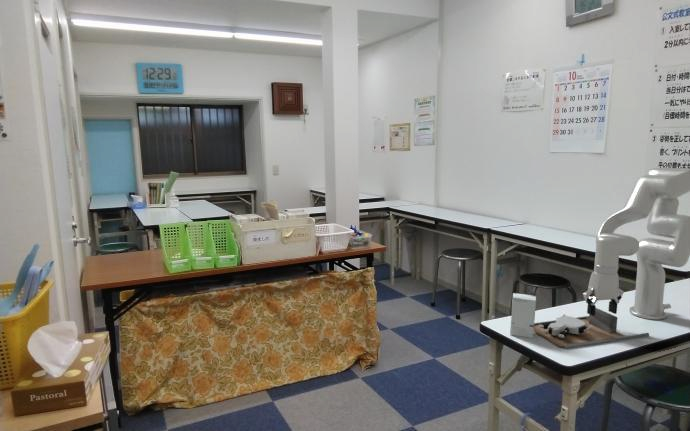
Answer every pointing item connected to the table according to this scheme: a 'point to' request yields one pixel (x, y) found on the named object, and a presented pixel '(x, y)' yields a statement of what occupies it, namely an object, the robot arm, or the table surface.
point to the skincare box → (523, 315)
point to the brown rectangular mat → (600, 329)
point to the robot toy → (565, 326)
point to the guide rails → (596, 340)
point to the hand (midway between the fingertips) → (601, 313)
